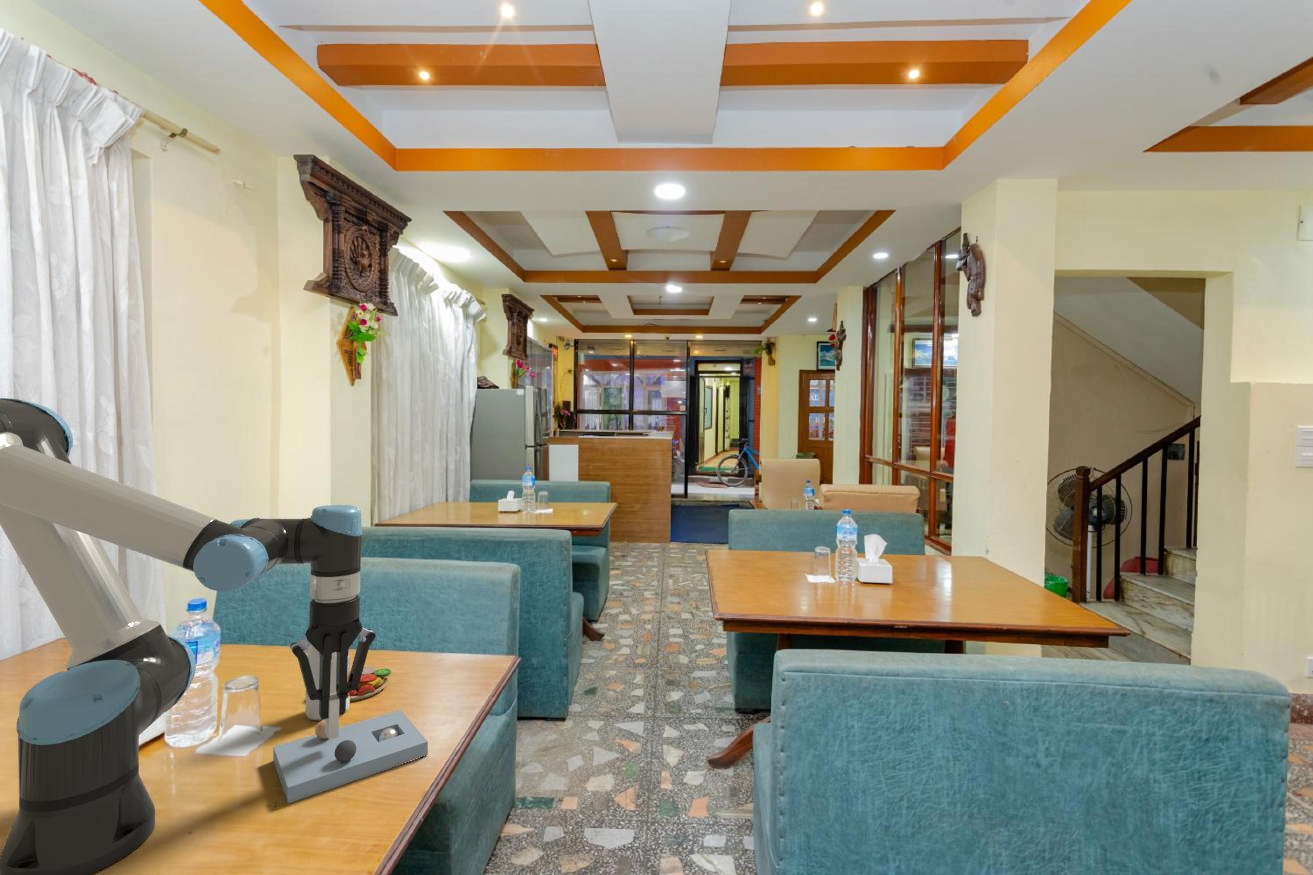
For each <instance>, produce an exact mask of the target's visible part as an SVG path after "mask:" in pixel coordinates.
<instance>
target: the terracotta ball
mask: <svg viewBox="0 0 1313 875" xmlns="http://www.w3.org/2000/svg"><path fill="white" fill-rule="evenodd" d="M325 722H326V719H324V720H319V722H318V723H317V724H316V727H315V729H314V730H315V731H314V732H315V734H316V736H317V737H318V738H320V739H327V738H328V737H327V736H326V734H325Z"/></svg>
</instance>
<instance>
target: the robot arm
mask: <svg viewBox="0 0 1313 875" xmlns="http://www.w3.org/2000/svg"><path fill="white" fill-rule="evenodd" d="M73 445H74V438H73V433H72V430H71V428H70V426H69V425H68V422H66V421H65V419H64V418H63V417H62V416H60V415H59V414H58V413H57V412H56V411H54V410H52V409H50V408H49V407H46V406H45V405H42V404H39V403H35V402H31V401H26V400H23V399H18V398H17V399H16V398H6V397H1V398H0V527H1V529H2V531H3V532H4V534H5V535H6V538H7V539H8V540H9V543H10V544H11V547H13V550H14V551H15V553H16V555H17V556H18V559H19V561H21V563H22V565H23V566H24V569H25V570H26V572H27V573H28V574H27V575H29V577H30V579H31V580H32V583H33V585H35V588H36V589H37V591H38V592H39V595H40V597H41V598H42V600H43V602H44V603H45V605H46V607H47V608H48V610H49V611H50V614H51V615H52V617H53V619H54V621H55V622H56V624H57V625H58V627H59V630H60V631H61V632H62V634H63V637H64V638H65V639H66V641H67V643H68V645H69V646H70V648H71V650H72V652H71V655H70V656H69V658H68V660H67V662H66V664H65V668H66V670H62V671H57V672H55V673H54V674H51V675H49V676H47V677H45V678H43V679H42V680H40V681H39V682H37V683H36V684H34V685H33V686H31V688H30V689H28V691H26V693H25V694H24V695H23V696H22V699H21V700H20V703H19V711H18V717H17V720H16V725H15V726H16V730H15V731H16V733H17V737H18V738H17V749H18V750H17V751H18V753H17V754H18V755H17V756H18V760H17V761H18V798H19V799H18V812H17V815H16V817H15V820H14V822H13V824H12V828H11V829H10V832H9V834H8V837H7V839H6V841H5V844H4V847H3V849H2V850H1V851H2V852H1V854H0V875H92V874H94V873H96V872H99V871H101V870H103V869H105V868H107V867H109V866H111V865H113V864H115V863H117V862H118V861H120V860H121V859H123V858H125V857H126V856H128V855H129V854H131V853H133V852H134V851H135V850H137V848H139V847H140V846H141V845H142V844H143V843H145V842H146V841H147V839H149V837H150V836H151V835H152V833H153V832H154V829H155V826H156V808H155V805H154V802H153V800H152V797H151V796H150V795H149V792H148V790H147V788H146V786H145V784H144V781H143V780H142V777H141V776H140V772H139V771H140V768H139V767H140V764H139V762H140V761H139V759H140V757H139V756H140V753H139V752H140V746H139V742H140V735H142V734H143V732H144V731H146V730H147V729H148V728H149V727H150V726H152V724H154V723H155V722H156V720H158V719H159V718H161V716H162V715H163V714H165V713H166V712H168V711H170V710H171V709H172V708H173V707H174V706H175V705H176V704H177V703H178V702H179V701H180V700H181V699H182V698H183V696H184V694H185V693H186V692H187V691H188V689H189V688H190V687H191V685H192V683H193V681H194V679H195V678H194V677H195V675H196V668H197V664H196V656H195V654H194V652H193V650H192V649H191V647H190V646H189V645H188V643H187V642H185V641H184V640H182V639H181V638H178V637H173V636H172V635H169V634H167V633H166V631H165V629H164V628H163V627H162V624H161V623H160V622H159V621H157V620H156V621H155V620H152V619H151V620H150V619H146V618H144V617H143V616H142V614H141V613H140V611H139V609H138V607H137V605H136V603H135V602H134V599H133V598H132V596H131V595H130V593H129V590H128V589H127V587H126V585H125V583H124V582H123V580H122V579H121V576H120V575H119V573H118V571H117V570H116V568H115V566H114V565H113V563H112V561H111V559H110V556H109V555H108V554H107V552H106V550H105V548H104V546H103V544H102V543H101V541H104V542H108V543H111V544H114V545H116V546H119V547H122V548H125V549H128V550H129V551H130V550H131V551H133V552H135V553H139V554H142V555H144V556H147V557H151V558H153V559H156V560H159V561H161V562H164V563H168V564H170V565H173V566H176V567H180V568H182V569H185V570H187V571H191V572H192V573H194V576H195V577H196V579H197V580H198V582H199V583H200V584H201V585H203V586H204V587H205V588H208V589H210V590H212V591H216V592H231V591H235V590H238V589H240V588H242V587H245V586H248V585H250V584H252V583H254V582H255V581H256V580H258V579H259V578H260V577H261V576H262V575H263V574H265V573H266V572H267V571H269V570H271V569H273V568H274V567H275V566H277V565H278V566H279V565H295V564H296V565H297V564H298V565H304V564H310V585H309V597H310V598H312V599H311V600H310V602H309V615H308V616H309V617H308V618H309V619H308V622H309V623H308V628H307V629H306V632H305V636H304V637H303V638H302V639H300V640H298V641H297V642H292V643H291V644H290V645H289V649H290V650H291V651H292V654H293V655H294V656H295V657H296V658H297V661H298V666H299V669H300V671H301V676H302V680H303V684H304V688H305V693H306V692H307V694H308V696H309V698H310V700H319V715H320V717H321V719H322V720H323V719H326V722H325V734H326V736H327V737H328V739H333V738H337V737H339V727H340V726H339V725H340V716H342V715H345V713H346V712H347V711H346V697H347V696H348V693H349V692H351V691H355V690H357V689H358V686H359V683H360V679H361V675H362V672H363V668H364V667H365V664H366V660H367V656H368V653H369V649H370V647H371V645H372V643H373V642H374V640H375V639H376V637H377V635H376V633H375V632H374V631H373V630H372V629H370V628H368V629H366V628H364V627H363V624H362V622H361V620H360V614H361V613H360V612H361V611H360V610H361V609H360V608H361V607H360V606H361V598H360V596H359V594H360V592H361V570H362V569H361V568H362V567H361V565H362V564H361V563H362V559H361V558H362V542H363V541H362V540H363V530H362V512H361V510H360V509H359V507H358V506H355V505H349V504H332V505H331V504H330V505H328V504H327V505H321V506H317V507H314V508H313V509H312V512H311V515H310V517H306V518H260V517H253V518H249V519H248V518H246V519H244V518H243V519H236V520H233V521H231V522H230V523H226V522H225V521H220V520H219V519H217V518H214V517H211V516H209V515H206V514H203V513H201V512H198V511H196V510H194V509H190V508H188V507H186V506H183V505H180V504H179V503H176V502H175V503H174V502H172V501H170V500H167V499H164V498H162V497H159V496H157V495H154V494H151V493H148V492H145V491H143V490H140V489H138V488H135V487H132V486H130V485H127V484H125V483H122V482H119V481H117V480H114V479H112V478H109V477H106V476H104V475H101V474H98V473H96V472H93V471H90V470H88V469H85V468H82V467H80V466H77V465H75V464H72V461H71V460H70V458H69V456H70V455H71V453H70V452H71V450H72V448H73V447H74V446H73ZM357 638H358V643H357V646H356V651H355V653H354V657H353V661H352V665H351V668H350V675H349V679H348V682H347V667H348V655H349V656H350V650H349V649H350V647H351V646H352V645H353V643H354V642H355V641H356V639H357ZM311 644H312V645H313V647H314V648H315V649H316V650H317V651H318V652H319V656H320V670H319V689H316V686H315V682H314V679H313V675H312V671H311V667H310V664H309V660H308V657H307V653H308V650H309V645H311ZM334 652H336V654H337V661H336V693H334V694H330V676H331V660H332V653H334ZM345 711H346V712H345ZM339 715H340V716H339ZM322 720H321V721H322Z"/></svg>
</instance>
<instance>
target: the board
mask: <svg viewBox="0 0 1313 875" xmlns="http://www.w3.org/2000/svg"><path fill="white" fill-rule="evenodd" d="M388 728H393V729H395V730H396V731H397V733H398V736H396V737H393V738H390V739H386V740H383V741H380V742H379V736H380V734H381V733H382V731H384V730H385V729H388ZM345 740H351V741H353V742H354V743H355V745H356V753H355V755H354V757H353V758H352V759H351V760H349V761H347V762H340V761H338V760H337V759H336V758H335V749H336V747H337V745H338V744H339V743H341V742H342V741H345ZM428 743H429V742H428V740H427V739H426V737H425V736H424V735H423V734H422V733H421V732H420V731H419V729H418V728H417V727H416V726H415V724H414V723H413V722H412V721H411V720H410V719H409V717H408V716H407V715H406V714H405V713H404V712H403V710H402V709H400V710H396V711H392V712H388V713H385V714H381V715H378V716H375V717H371V718H368V719H365V720H361V721H357V722H354V723H350V724H346V725H343V726H339V737H337V738H333V739H328V738H327V739H320V738H318V737H317V736H316V733H315V734H311V735H308V736H305V737H300V738H298V739H294V740H290V741H287V742H285V743H280V744H277V745H273V747H272V749H273V750H272V752H273V754H272V757H273V758H272V759H273V760H272V761H273V764H274V767H275V769H276V773H277V776H278V778H279V781H280V784H281V785H280V786H281V789H282V790H283V794H284V796H285V800H286V803H287V804H288V805H289V804H291V803H294V802H297V801H300V800H304V799H305V798H306V799H307V798H308V797H312V796H314V795H317V794H318V795H319V794H320V793H323V792H326V791H328V790H332V789H335V788H337V787H341V786H345V785H347V784H349V783H352V782H356V781H358V780H362V779H365V778H368V777H370V776H372V775H376V774H378V773H381V771H382V772H384V770H385V771H387V770H388V771H389V769H390V768H391V769H393V768H396V767H399V766H401V765H400V764H402V763H405V762H408V761H410V760H413V759H416V758H419V757H421V756H424V755H429V754H428V753H429V751H428V749H429V747H428V746H429V744H428ZM408 763H409V762H408ZM405 764H406V763H405ZM402 765H403V764H402ZM395 766H396V767H395ZM392 767H393V768H392ZM391 769H390V770H391Z"/></svg>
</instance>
